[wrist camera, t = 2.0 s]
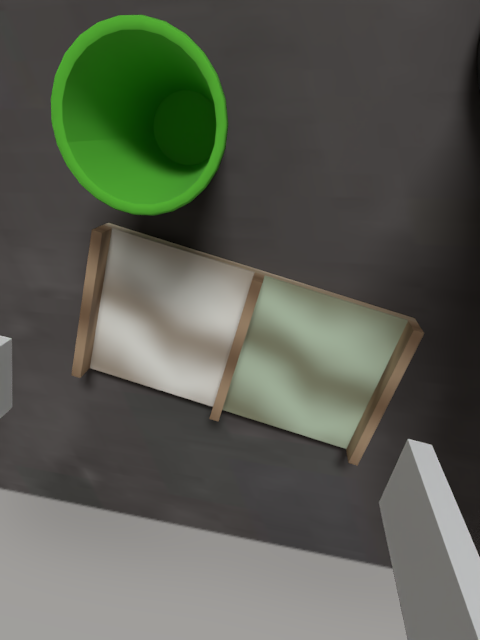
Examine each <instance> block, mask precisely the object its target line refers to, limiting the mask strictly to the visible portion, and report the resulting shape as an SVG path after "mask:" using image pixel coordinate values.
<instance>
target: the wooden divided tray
mask: <svg viewBox="0 0 480 640" xmlns="http://www.w3.org/2000/svg"><path fill="white" fill-rule="evenodd" d="M423 335H424V332H423V331H422V329H421V327H420V326H419V324H418V323H417V321H416V320H415V318H412V317H409V316H406V315H403V314H400V313H396V312H393V311H390V310H387V309H384V308H380V307H377V306H374V305H371V304H368V303H364V302H361V301H358V300H355V299H351V298H348V297H345V296H342V295H339V294H335V293H332V292H329V291H326V290H323V289H319V288H316V287H313V286H310V285H307V284H303V283H300V282H297V281H294V280H290V279H287V278H284V277H281V276H278V275H274V274H271V273H268V272H265V271H262V270H258V269H255V268H252V267H249V266H246V265H242V264H239V263H236V262H233V261H229V260H226V259H223V258H220V257H217V256H213V255H210V254H207V253H204V252H201V251H197V250H194V249H191V248H188V247H185V246H181V245H178V244H175V243H172V242H168V241H165V240H162V239H159V238H156V237H152V236H149V235H146V234H143V233H140V232H136V231H133V230H130V229H127V228H124V227H120V226H117V225H114V224H111V223H107V224H104V225H102V226H100V227H97V228H95V229H92V233H91V240H90V247H89V254H88V261H87V268H86V276H85V283H84V290H83V297H82V304H81V311H80V318H79V325H78V333H77V340H76V347H75V354H74V361H73V368H72V376H76V377H79V378H81V377H82V376H83V375H84V374H85V373H86V371H87V370H88V369H89V368H91V369H95V370H98V371H101V372H104V373H107V374H110V375H114V376H117V377H120V378H123V379H126V380H129V381H133V382H136V383H139V384H142V385H145V386H148V387H152V388H155V389H158V390H161V391H164V392H167V393H171V394H174V395H177V396H180V397H183V398H186V399H189V400H193V401H196V402H199V403H202V404H205V405H208V406H212V407H213V409H212V412H211V415H210V418H209V419H212V420H215V421H219V418H220V415H221V412H222V410H224V411H227V412H231V413H234V414H237V415H240V416H243V417H246V418H250V419H253V420H256V421H259V422H262V423H265V424H269V425H272V426H275V427H278V428H281V429H284V430H288V431H291V432H294V433H297V434H300V435H303V436H307V437H310V438H313V439H316V440H319V441H322V442H326V443H329V444H332V445H335V446H338V447H341V448H345V449H346V450H347V457H348V463H351V464H354V465H358V463H359V461H360V459H361V457H362V455H363V453H364V451H365V449H366V447H367V446H368V444H369V442H370V440H371V438H372V436H373V434H374V432H375V430H376V428H377V426H378V424H379V422H380V420H381V418H382V416H383V414H384V412H385V410H386V408H387V406H388V404H389V402H390V400H391V398H392V396H393V394H394V392H395V390H396V388H397V386H398V384H399V382H400V380H401V378H402V376H403V374H404V372H405V370H406V368H407V367H408V365H409V363H410V361H411V359H412V357H413V355H414V353H415V351H416V349H417V347H418V345H419V343H420V341H421V339H422V337H423Z"/></svg>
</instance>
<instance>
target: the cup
mask: <svg viewBox="0 0 480 640" xmlns="http://www.w3.org/2000/svg"><path fill="white" fill-rule="evenodd" d="M51 116H52V125H53V129H54V133H55V138H56V142H57V145H58V147H59V150H60V152H61V154H62V156H63V158H64V160H65V163H66V165H67V166H68V168H69V169H70V170H71V172H72V173H73V174H74V176H75V177H76V179H77V180H78V181H79V183H80V184H81V185H82V186H83V187H84V188H85V189H87V190H88V191H89V192H90V193H91V194H92V195H93V196H94V197H95V198H97V199H98V200H100V201H102V202H103V203H105V204H107V205H109V206H110V207H112V208H114V209H117V210H120V211H123V212H127V213H130V214H134V215H158V214H163V213H167V212H172V211H174V210H176V209H178V208H180V207H182V206H184V205H186V204H188V203H190V202H191V201H192V200H193V199H195V198H196V197H197V196H198V195H199V194H200V193H201V192H202V191H203V190H204V189H205V188H206V187H207V186H208V184H209V183H210V181H211V180H212V178H213V177H214V175H215V173H216V172H217V170H218V168H219V165H220V162H221V160H222V157H223V154H224V151H225V148H226V140H227V131H228V117H227V107H226V99H225V96H224V93H223V90H222V86H221V83H220V80H219V77H218V75H217V73H216V71H215V70H214V68H213V66H212V65H211V63H210V61H209V60H208V58H207V56H206V55H205V53H204V52H203V51H202V50H201V49H200V48H199V47H198V46H197V45H196V43H195V42H194V41H193V40H192V39H191V38H190V37H189V36H188V35H187V34H185V33H184V32H182V31H180V30H179V29H177V28H175V27H174V26H172V25H171V24H169V23H167V22H166V21H162V20H159V19H155V18H152V17H148V16H145V15H119V16H116V17H113V18H109V19H106V20H103V21H100V22H98V23H96V24H95V25H93V26H92V27H91V28H89V29H88V30H86V31H85V32H84V33H82V34H81V35H79V37H78V38H77V39H76V40H75V42H74V43H73V44H72V45H71V47H70V48H69V49H68V50H67V52H66V53H65V54H64V57H63V59H62V61H61V63H60V66H59V68H58V70H57V72H56V75H55V79H54V85H53V90H52V95H51Z"/></svg>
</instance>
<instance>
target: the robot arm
mask: <svg viewBox="0 0 480 640" xmlns="http://www.w3.org/2000/svg"><path fill="white" fill-rule="evenodd" d="M477 75H478V85H479V91H480V41H479V48H478V58H477ZM11 408H12V338H8V337H4V336H0V418H1V417H2V416H3V415H4V414H5V413H7V412H8V411H9V410H10V409H11ZM379 506H380V510H381V515H382V520H383V525H384V529H385V534H386V539H387V544H388V549H389V553H390V558H391V563H392V568H393V572H394V577H395V582H396V586H397V591H398V596H399V600H400V606H401V610H402V615H403V620H404V624H405V629H406V634H407V639H408V640H480V557H479V555H478V552H477V550H476V548H475V545H474V543H473V541H472V538H471V536H470V533H469V531H468V529H467V526H466V524H465V522H464V519H463V517H462V515H461V512H460V510H459V508H458V505H457V503H456V501H455V498H454V496H453V493H452V491H451V489H450V486H449V484H448V482H447V479H446V477H445V475H444V472H443V470H442V468H441V465H440V463H439V461H438V458H437V456H436V453H435V451H434V449H433V446H432V445H430V444H427V443H423V442H419V441H415V440H411V439H407V441H406V444H405V446H404V448H403V450H402V453H401V455H400V457H399V459H398V461H397V464H396V466H395V468H394V470H393V473H392V475H391V477H390V479H389V481H388V484H387V486H386V488H385V490H384V492H383V495H382V497H381V499H380V501H379Z"/></svg>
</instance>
